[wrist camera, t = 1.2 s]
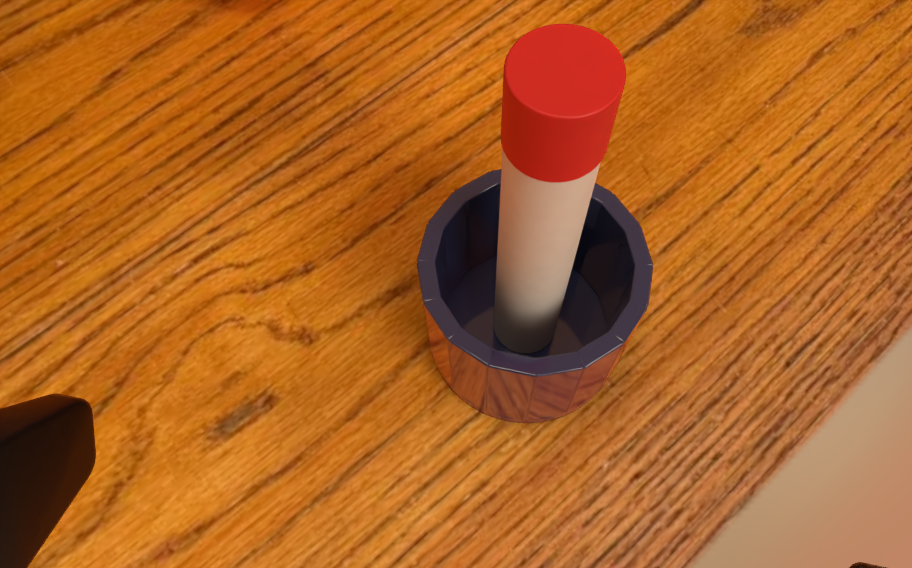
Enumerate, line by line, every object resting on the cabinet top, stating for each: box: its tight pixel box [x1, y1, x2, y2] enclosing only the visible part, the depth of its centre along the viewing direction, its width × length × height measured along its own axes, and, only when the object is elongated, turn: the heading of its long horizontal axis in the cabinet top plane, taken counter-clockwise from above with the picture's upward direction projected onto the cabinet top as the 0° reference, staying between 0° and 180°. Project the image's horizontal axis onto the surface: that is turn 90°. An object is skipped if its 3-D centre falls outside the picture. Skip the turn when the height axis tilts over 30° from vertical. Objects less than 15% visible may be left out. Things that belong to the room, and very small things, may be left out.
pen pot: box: [417, 169, 653, 423], centre depth 21 cm, size 6×6×5 cm
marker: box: [494, 24, 626, 353], centre depth 18 cm, size 2×2×12 cm
